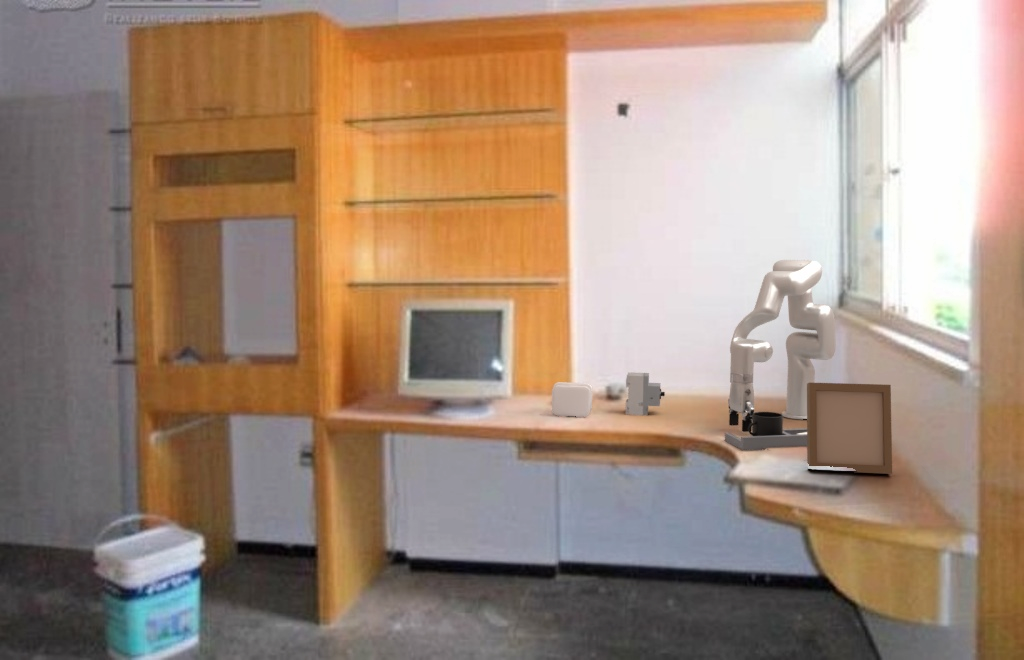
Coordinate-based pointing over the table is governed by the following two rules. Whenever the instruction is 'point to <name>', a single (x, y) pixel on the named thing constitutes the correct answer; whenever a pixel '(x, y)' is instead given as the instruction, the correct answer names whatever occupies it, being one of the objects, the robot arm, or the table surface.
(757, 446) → the organizer
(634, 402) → the circuit breaker
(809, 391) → the photo frame
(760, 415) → the mug
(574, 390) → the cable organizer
